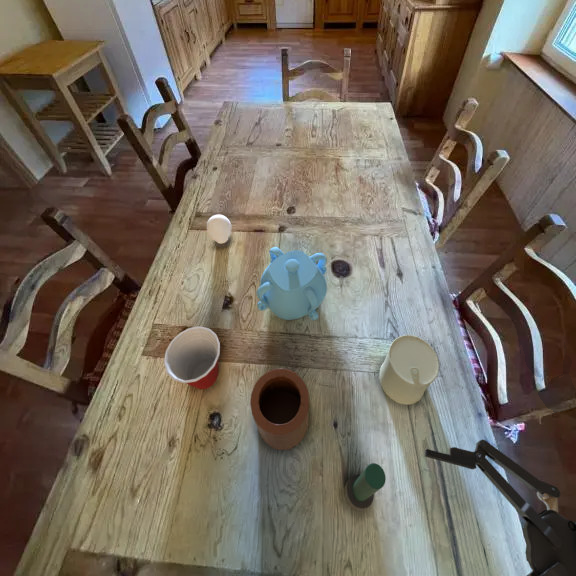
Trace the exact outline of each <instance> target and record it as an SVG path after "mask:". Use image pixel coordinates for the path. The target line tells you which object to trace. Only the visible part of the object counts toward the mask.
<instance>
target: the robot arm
mask: <svg viewBox="0 0 576 576" xmlns="http://www.w3.org/2000/svg"><path fill="white" fill-rule="evenodd" d="M448 451H449V452H448V453H444V452H441V451H437V450H433V449H429V448H425V450H424V457H425V458H429V459H433V460H436V461H440V462H444V463H447V464H450V465H455V466H458V467H462V468H465V469H470V470H476V469H477V468H478V469H479V471H481V472H482V473H483V475H485V477H486V478H487V479H488V480H489V481H490V482H491V484H492V485H493V486H494V487H495V488H496V489H497V490H498V491H499V492H500V494H501V495H502V496H503V497H504V498H505V499H506V500H507V501H508V503H510V505H511V506H512V507H513V508H514V509H515V511H516V512H517V513H518V515H519V516H520V517H521V518H522V519H523V520H524V521H525V523H524V525H523V527H521V528H522V536H523V539H524V542H525V545H526V546H525V560H526V562H528V566H529V568H530V569H531V571H530V572H529V573H528V574H527V575H526V576H576V521H575V520H572V519H568V518H566V517H565V516H563V515H561V514H560V513H559V501H558V498H560V497H561V491H560V489H559V488H558V487H557V486H555V485H553V484H550V483H548V482H545V481H542V480H540V479H539V478H537V477H536V476H534V475H533V474H532V473H530V472H529V471H528V470H526V469H525V468H524V467H522V466H521V465H520V464H518V463H517V462H516V461H514V460H513V459H511V458H510V457H509V456H507V455H506V454H505V453H504V452H502V451H500V450H499V449H498V448H497V447H495V446H494V445H493V444H491V443H490V442H488V441H487V440H486V439H480V440H478V441H477V442H476V444H475V449H474V450H473V451H470V450H467V449H463V448H459V447H455V446H454V447H449V449H448ZM487 458H489V459H490V460H492V461H493V462H494V463H495V464H497V465H498V466H499V467H500V468H502V469H503V470H504V471H506V472H507V473H508V474H510V475H511V476H512V477H514V478H515V479H516V480H517V481H519V482H520V483H521V484H523V485H524V486H525V487H527V488H528V489H529V490H531V491H532V492H534V493H536V496H537V498H538V500H539V501H541V502H543V504H544V505H545V506H546V509H544V510H542V511H540V512H539V513H538V512H537V511H536V510H535V509H534V507H532V506H531V504H529V503H528V502H527V501H526V500H525V499H524V498H523V497H522V496H521V495H520V493H518V491H517V490H516V489H515V488H514V487H513V486H512V485H511V484H510V482H508V480H507V479H506V478H505V477H504V476H503V474H501V473H500V472H499V471H498V470H497V469H496V467H495V466H494V465H493V464H492V463H491V462H490V461H489V460H488V459H487Z"/></svg>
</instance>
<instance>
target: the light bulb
mask: <svg viewBox="0 0 576 576" xmlns="http://www.w3.org/2000/svg"><path fill="white" fill-rule="evenodd" d="M232 230H233V229H232V223H231V221H230V219H229V218H228V217H227V216H225V215H223V214H220V213H219V214H214V215H212V216H211V217H209V218H208V220H207V222H206V232H207V235H208V236H209V238H210V239H211V240H213V241H215V245H216V246H217V247H218V248H225V247H228V246H229V245H230V243H231V238H230V236H231V234H232Z"/></svg>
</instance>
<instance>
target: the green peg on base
mask: <svg viewBox="0 0 576 576" xmlns="http://www.w3.org/2000/svg"><path fill="white" fill-rule="evenodd" d="M385 485H386V472H385V471H384V469H383V467H382V466H381V465H380V464H378V463H376V462H371V463H368V464H367V466H366V467H365V468H364V470H363V471H362V472H361V473H358V472H357V473H354V474H352V475H351V476H350V477H349V478H348V480H347V481H346V482H345V485H344V491H343V493H344V495H343V496H344V499H345V502H346V504H347V505H348V506H349V508H351V509H352V510H353V511H356V512H362V511H364V510H366V509H368V508H369V507H370V506H371V505H372V504H373V501H374V497H375V494H376V493H377V492H378V491H379V490H381V489H382V488H383V487H385Z"/></svg>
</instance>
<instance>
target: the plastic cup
mask: <svg viewBox="0 0 576 576" xmlns="http://www.w3.org/2000/svg"><path fill="white" fill-rule="evenodd" d="M220 351H221V344H220V339H219V338H218V335H217V334H216V332H214V331H213V330H212V329H210V328H208V327H205V326H201V325H199V326H192V327H189V328H187V329H185V330H182V331H181V332H179V333H178V334H177V335H176V336H175V337H174V338H173V339H172V340H171V341H170V342H169V345H168V346H167V348H166V350H165V352H164V360H163V365H164V369H165V372H166V374H167V375H168V376H169V378H171V379H172V381H175V382H179V383H181V384H186V385H189V387H190V386H191V387H193V388H195V389H198V390H205V389H208V388H210V387H212V386H213V385H214V384H215V383H216V381H217V379H218V377H219V358H220V354H221V353H220Z"/></svg>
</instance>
